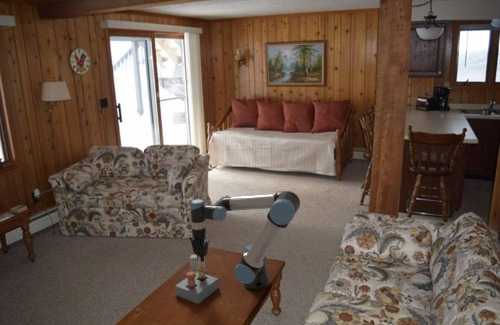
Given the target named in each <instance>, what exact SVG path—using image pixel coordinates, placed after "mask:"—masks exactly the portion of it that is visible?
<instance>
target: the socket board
mask: <svg viewBox="0 0 500 325" xmlns="http://www.w3.org/2000/svg"><path fill="white" fill-rule="evenodd" d="M195 273H196V277H195V288H193V289H190V288H188V280H187V278H186V277H185V279H183V280H181V281H180V282H178V283H177V284H176V285H175V286H174V288H175V296H176V297H180V298H182V299H184V300H187V301H188V302H189V301H190V302H192V303H194V304H197V305H199V304H201V303H202V302H203V301H204V300H205V299H206V298H208V297H209V296H211V295H212V294H213V293H215V291H217V290H218V289H219V287H220V286H219V278H217V277H215V276H212V275H209V274H207V273H205V275H206V280H204V281H203V282H202V281H200V280H199V277H198V271H196V272H195Z"/></svg>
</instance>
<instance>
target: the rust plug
mask: <svg viewBox="0 0 500 325" xmlns="http://www.w3.org/2000/svg"><path fill="white" fill-rule="evenodd" d="M195 277H196V273H195V272H191V271H188V272H187V273H186V274H185V279H186V278H187V280H188V288H190V289H193V288H195Z"/></svg>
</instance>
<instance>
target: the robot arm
mask: <svg viewBox="0 0 500 325" xmlns="http://www.w3.org/2000/svg"><path fill="white" fill-rule="evenodd" d="M189 205H190V206H189V207H190V210H189V211H190V218H191V219H190V220H191V221H190V222H191V223H190V225H191V234H192V235H191V236H190V237H189V241H190V244H191V246H192V251H193V255H197V260H198V266H199V267H202V266H204V262H203V261H204V256H205V257H206V256H207V255H208V251H209V250H208V249H209V244H210V240H208V239H207V237H206V234H207V230H206V229H207V228H206V220H211V221H217V222H218V221H221V222H222V221H224V220H226V217H227V212H230V211H231V212H233V211H234V212H235V211H236V212H237V211H250V210H251V211H252V210H265V209H269V211H268V212H267V214H266V218H267V220H266V222H265V224H264V225H263V228H262V229H261V230H260V232H259V234H258V235H257V237H256V239H255V240H254V242H253V244H249V245H247V246H245V249H244V253H243V255H242V256H241V259H240V260H239V262H238V263H237V264H236V266H235V267H234V271H233V274H234V276H235V278H236V279H237V281H238V282H240V283H242V284H243V286H244V287H245V288H246V289H248V290H250V291H261V290H264V289H267V288H268V287H269V286H270V283H271V282H270V277H269V274H268V272H267V254H268V253H269V251H270V249H271V248H272V246H273V245H274V243H275V241H276V240H277V238H278V237H279V235H280V234H281V231H282V230H283V229H287V227H289V225H290V223H291V222H292V220H293V219H294V218H295V215H296V213H297V211H298V210H299V208H300V206H301V200H300V197H299V196H298V195H297V194H296V193H295V192H293V191H291V190H290V191H289V190H282V191H275V192H274V193H272V194H271V193H270V194H269V193H268V194H258V195H247V196H233V197H232V196H229V195H223V196H222V197H220V198H219V199H218V200H217V201H216V202H215V203H214V204H211V205H210V204H205V201H204V200H203V199H199V198H197V199H194V200H191V201H190V203H189Z"/></svg>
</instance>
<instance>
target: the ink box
mask: <svg viewBox="0 0 500 325" xmlns="http://www.w3.org/2000/svg"><path fill="white" fill-rule="evenodd" d="M203 262H204V265H206V256H204V261H203ZM197 266H198V260H197V255H196V254H190V257H189V267H190V272H196V271H197ZM205 274H207V269H206V270H205Z"/></svg>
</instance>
